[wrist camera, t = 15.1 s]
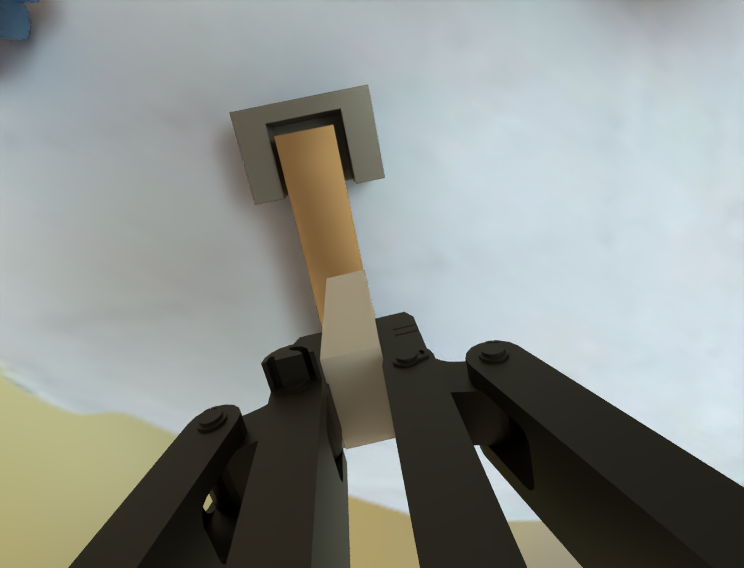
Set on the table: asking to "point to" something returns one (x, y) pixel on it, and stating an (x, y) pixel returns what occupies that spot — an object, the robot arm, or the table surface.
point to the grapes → (14, 19)
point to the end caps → (332, 108)
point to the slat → (319, 206)
